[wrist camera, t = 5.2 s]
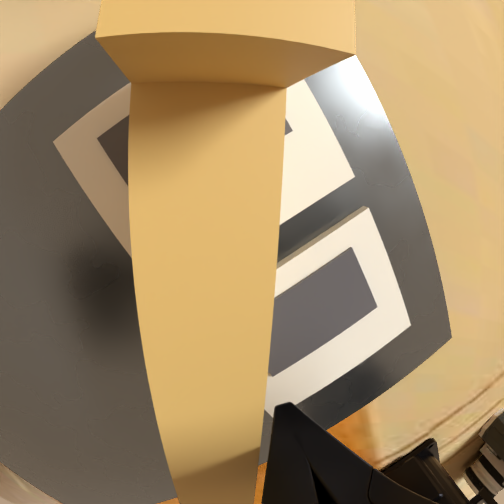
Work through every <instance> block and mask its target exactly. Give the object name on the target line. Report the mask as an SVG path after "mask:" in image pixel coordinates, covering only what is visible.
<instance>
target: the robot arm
mask: <svg viewBox="0 0 504 504" xmlns="http://www.w3.org/2000/svg"><path fill="white" fill-rule="evenodd" d="M261 503H262V504H483V503H485V504H498V503H497V502H496V501H495V500H494V499H493V497H492V496H491V495H490V494H489V493H488V492H487V490H486V489H485V488H482V489H481V490H480V491H479V492H478V494H477V495H476V496H475V497H474V498H472V499H471V500H470V501H469V500H468V499H467V498H466V496H465V495H464V494H463V492H462V491H461V490H460V489H459V487H458V486H457V485H456V483H455V482H454V481H453V479H452V478H451V477H450V476H449V474H448V473H447V472H446V470H445V469H444V468H443V467H442V465H441V464H440V460H439V454H438V447H437V442H436V441H435V440H434V438H431V439H429V440H428V441H427V442H425V443H424V444H423V445H421V446H420V447H419V448H417V449H416V450H415V451H413V452H412V453H410V454H409V455H408V456H406V457H405V458H403V459H402V460H400V461H399V462H397V463H396V464H394V465H393V466H391V467H390V468H388V469H387V470H385V471H384V472H382V473H381V472H380V471H378V470H377V469H373V466H371V465H370V464H369V463H367V462H366V461H365V460H363V459H362V458H361V457H359V456H358V455H357V454H355V453H354V452H353V451H351V450H350V449H349V448H347V447H346V446H345V445H344V444H342V443H341V442H340V441H338V440H337V439H336V438H335V437H333V436H332V435H331V434H330V433H328V432H327V431H326V430H325V429H323V428H322V427H321V426H320V425H319V424H317V423H316V422H315V421H314V420H312V419H311V418H310V417H309V416H308V415H306V414H305V413H304V412H303V411H302V410H300V409H299V408H298V407H297V406H296V405H295V404H293V403H292V402H286V403H282V404H279V405H276V406H275V407H274V414H273V422H272V430H271V438H270V446H269V453H268V461H267V468H266V475H265V482H264V489H263V496H262V502H261Z"/></svg>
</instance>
